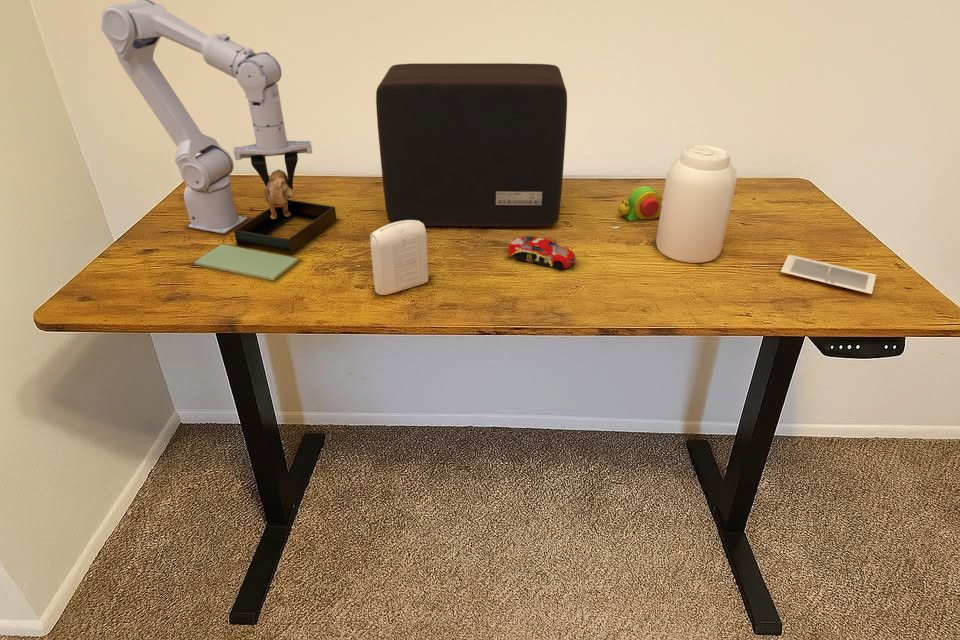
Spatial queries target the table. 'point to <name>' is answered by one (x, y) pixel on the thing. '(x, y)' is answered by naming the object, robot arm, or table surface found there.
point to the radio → (472, 143)
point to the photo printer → (399, 256)
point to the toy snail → (641, 204)
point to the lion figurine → (278, 193)
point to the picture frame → (262, 224)
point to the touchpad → (829, 273)
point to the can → (696, 204)
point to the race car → (541, 252)
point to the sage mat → (246, 262)
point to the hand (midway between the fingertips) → (280, 190)
